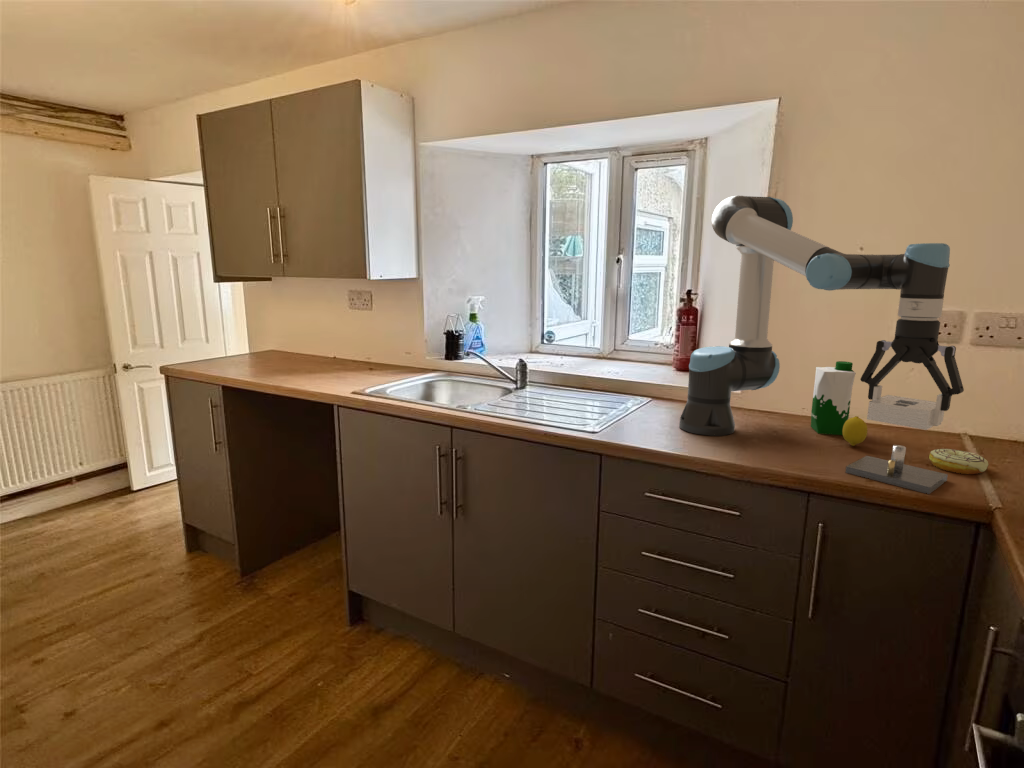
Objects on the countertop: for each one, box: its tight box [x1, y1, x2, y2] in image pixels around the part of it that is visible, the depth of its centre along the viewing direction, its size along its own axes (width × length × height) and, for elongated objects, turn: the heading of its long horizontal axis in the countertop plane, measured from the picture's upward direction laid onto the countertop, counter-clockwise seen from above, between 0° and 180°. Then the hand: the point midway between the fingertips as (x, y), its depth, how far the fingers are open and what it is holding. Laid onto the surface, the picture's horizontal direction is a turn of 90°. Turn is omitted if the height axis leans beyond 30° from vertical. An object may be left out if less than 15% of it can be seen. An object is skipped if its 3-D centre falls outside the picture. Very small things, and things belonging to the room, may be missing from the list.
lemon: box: [842, 415, 868, 447], centre depth 147 cm, size 6×6×8 cm
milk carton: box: [810, 360, 856, 436], centre depth 159 cm, size 9×9×20 cm
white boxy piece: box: [866, 394, 945, 431], centre depth 123 cm, size 11×11×4 cm
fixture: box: [844, 444, 948, 495], centre depth 125 cm, size 16×12×7 cm
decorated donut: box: [928, 448, 989, 475], centre depth 131 cm, size 10×11×4 cm
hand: (904, 419), depth 123 cm, fingers closed on white boxy piece, 11 cm apart
